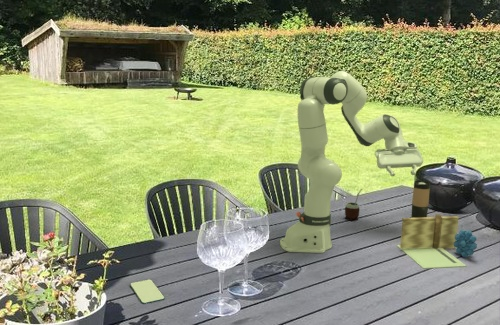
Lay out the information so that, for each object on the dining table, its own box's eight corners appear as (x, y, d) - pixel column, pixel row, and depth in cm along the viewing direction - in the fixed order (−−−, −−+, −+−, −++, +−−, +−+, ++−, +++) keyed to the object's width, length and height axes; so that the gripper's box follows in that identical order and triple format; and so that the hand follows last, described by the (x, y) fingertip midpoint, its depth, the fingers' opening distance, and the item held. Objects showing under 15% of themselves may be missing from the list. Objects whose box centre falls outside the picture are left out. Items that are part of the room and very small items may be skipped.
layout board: (423, 268, 198) (423, 267, 198) (396, 245, 221) (397, 244, 221) (466, 266, 201) (466, 265, 201) (435, 244, 224) (435, 243, 224)
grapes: (482, 260, 207) (486, 232, 204) (469, 263, 204) (473, 234, 202) (461, 250, 217) (464, 223, 215) (448, 252, 215) (451, 225, 212)
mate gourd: (343, 220, 254) (345, 191, 250) (345, 215, 261) (347, 187, 258) (359, 222, 251) (360, 192, 248) (360, 217, 259) (362, 188, 256)
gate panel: (401, 248, 215) (404, 219, 213) (399, 247, 217) (402, 218, 214) (432, 247, 218) (435, 218, 215) (430, 245, 219) (433, 216, 217)
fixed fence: (433, 249, 218) (437, 216, 214) (431, 247, 220) (434, 214, 217) (456, 248, 219) (459, 215, 216) (453, 246, 221) (456, 213, 218)
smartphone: (165, 300, 171) (151, 281, 185) (165, 298, 171) (151, 278, 184) (142, 306, 167) (129, 285, 181) (142, 303, 167) (129, 283, 181)
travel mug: (424, 219, 258) (428, 180, 253) (428, 224, 250) (432, 184, 246) (409, 218, 258) (412, 180, 254) (412, 223, 251) (415, 184, 247)
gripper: (375, 146, 229) (382, 172, 222) (420, 143, 230) (427, 170, 223) (372, 153, 234) (378, 179, 227) (415, 151, 236) (423, 177, 229)
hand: (403, 175), depth 225 cm, fingers open, 8 cm apart
